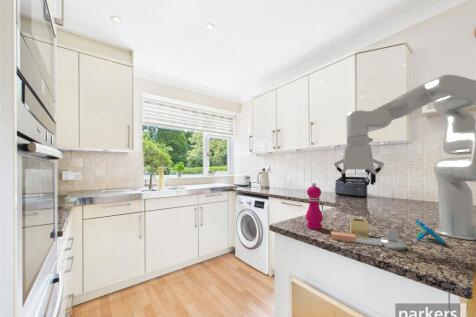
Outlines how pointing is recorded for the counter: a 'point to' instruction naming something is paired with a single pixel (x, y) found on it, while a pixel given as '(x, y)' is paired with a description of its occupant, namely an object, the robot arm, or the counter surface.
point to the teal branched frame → (427, 232)
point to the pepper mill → (314, 208)
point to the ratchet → (373, 239)
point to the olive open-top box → (359, 227)
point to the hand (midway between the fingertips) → (358, 183)
